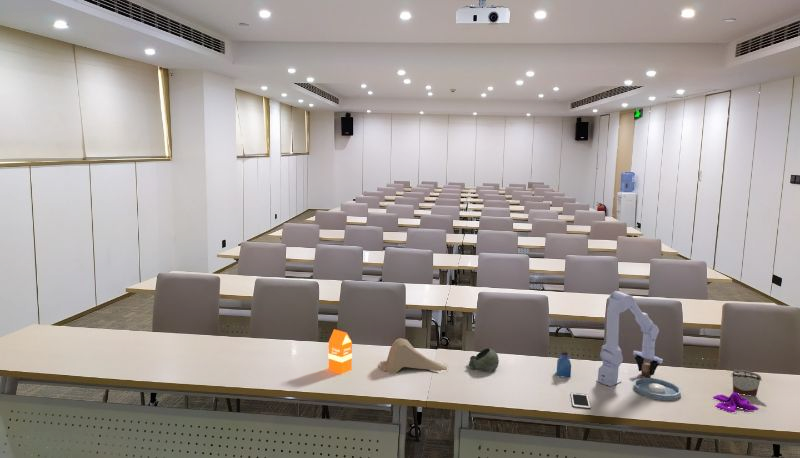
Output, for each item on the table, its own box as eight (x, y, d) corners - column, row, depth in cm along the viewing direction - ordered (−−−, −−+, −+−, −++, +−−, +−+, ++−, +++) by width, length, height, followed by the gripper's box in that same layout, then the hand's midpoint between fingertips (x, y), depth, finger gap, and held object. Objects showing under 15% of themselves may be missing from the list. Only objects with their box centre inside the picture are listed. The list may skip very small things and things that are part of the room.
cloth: (718, 413, 247) (719, 399, 247) (703, 395, 265) (705, 382, 265) (774, 418, 243) (776, 405, 243) (756, 400, 261) (757, 387, 261)
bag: (377, 379, 284) (448, 380, 280) (375, 347, 280) (447, 347, 276) (382, 362, 302) (449, 362, 298) (381, 331, 298) (448, 331, 294)
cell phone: (572, 408, 249) (572, 406, 249) (570, 394, 263) (570, 392, 263) (591, 410, 247) (591, 408, 247) (587, 396, 261) (588, 394, 261)
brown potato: (647, 378, 283) (648, 366, 282) (639, 375, 287) (640, 363, 286) (652, 376, 286) (653, 364, 285) (644, 373, 289) (645, 362, 288)
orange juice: (338, 365, 290) (339, 327, 288) (351, 369, 285) (352, 330, 283) (328, 370, 284) (328, 331, 281) (341, 374, 279) (341, 334, 276)
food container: (756, 392, 269) (758, 371, 268) (759, 397, 264) (762, 376, 262) (726, 388, 273) (728, 368, 272) (729, 393, 267) (731, 372, 266)
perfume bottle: (570, 377, 282) (572, 354, 280) (557, 376, 283) (558, 353, 281) (569, 373, 288) (570, 350, 286) (556, 371, 289) (558, 349, 287)
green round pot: (468, 361, 300) (469, 343, 299) (497, 363, 298) (498, 345, 297) (468, 372, 285) (469, 353, 284) (498, 374, 283) (499, 355, 282)
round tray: (665, 403, 254) (666, 399, 254) (625, 388, 270) (625, 383, 270) (688, 393, 266) (689, 388, 266) (648, 379, 282) (648, 374, 282)
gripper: (666, 349, 281) (664, 375, 282) (639, 341, 292) (637, 366, 294) (659, 352, 276) (656, 378, 278) (631, 343, 288) (629, 369, 290)
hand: (646, 372), depth 286 cm, fingers open, 6 cm apart
